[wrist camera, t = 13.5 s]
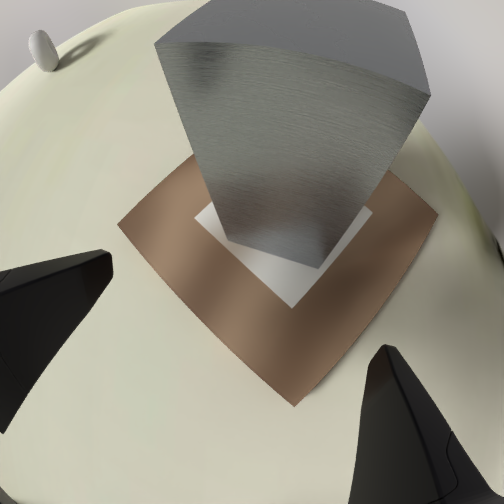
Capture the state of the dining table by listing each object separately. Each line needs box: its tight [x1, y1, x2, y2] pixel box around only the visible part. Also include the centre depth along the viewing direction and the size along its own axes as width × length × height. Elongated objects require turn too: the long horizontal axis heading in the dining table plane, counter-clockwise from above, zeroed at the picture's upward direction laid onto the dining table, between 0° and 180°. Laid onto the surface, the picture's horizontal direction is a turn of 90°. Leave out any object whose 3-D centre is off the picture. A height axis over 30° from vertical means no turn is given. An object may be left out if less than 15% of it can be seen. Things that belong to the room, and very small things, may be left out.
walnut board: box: [117, 154, 438, 407], centre depth 17 cm, size 16×16×2 cm
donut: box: [28, 30, 59, 72], centre depth 25 cm, size 10×4×10 cm, turn 33°
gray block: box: [154, 0, 431, 269], centre depth 10 cm, size 6×6×12 cm
